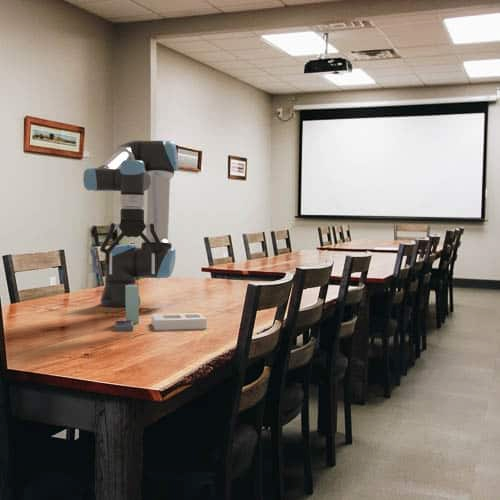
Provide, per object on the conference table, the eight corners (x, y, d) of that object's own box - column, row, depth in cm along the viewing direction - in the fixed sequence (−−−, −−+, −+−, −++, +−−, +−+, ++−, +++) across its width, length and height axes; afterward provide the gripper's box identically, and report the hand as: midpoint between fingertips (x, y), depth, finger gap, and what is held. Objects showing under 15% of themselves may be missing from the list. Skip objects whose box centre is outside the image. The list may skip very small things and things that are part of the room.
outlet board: (151, 323, 211) (151, 313, 211) (200, 321, 215) (200, 312, 215) (154, 330, 199) (154, 319, 199) (206, 328, 203) (206, 318, 203)
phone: (115, 326, 207) (115, 320, 206) (133, 326, 207) (133, 320, 207) (114, 332, 197) (114, 326, 197) (132, 332, 198) (132, 325, 198)
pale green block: (125, 321, 214) (125, 284, 213) (137, 321, 215) (137, 284, 214) (126, 323, 210) (126, 285, 209) (138, 323, 211) (138, 285, 210)
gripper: (92, 207, 204) (92, 275, 205) (172, 208, 209) (171, 274, 211) (92, 207, 211) (92, 273, 212) (169, 209, 217) (169, 272, 218)
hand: (132, 274), depth 211 cm, fingers open, 13 cm apart
